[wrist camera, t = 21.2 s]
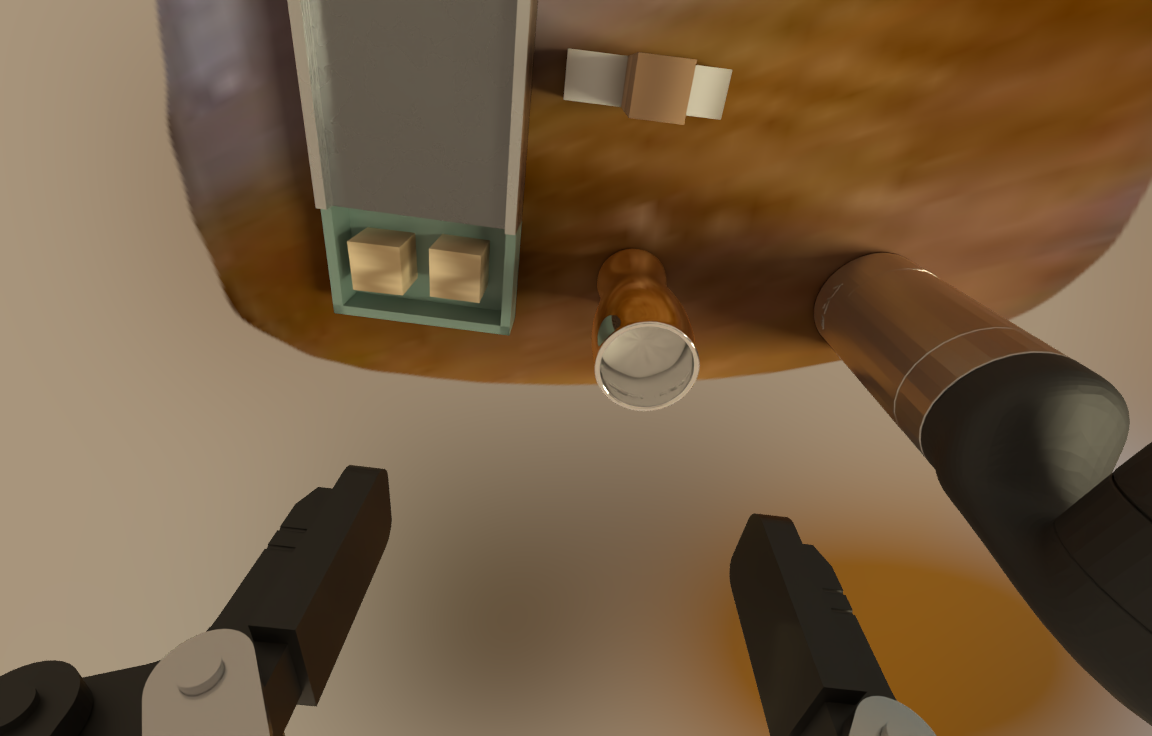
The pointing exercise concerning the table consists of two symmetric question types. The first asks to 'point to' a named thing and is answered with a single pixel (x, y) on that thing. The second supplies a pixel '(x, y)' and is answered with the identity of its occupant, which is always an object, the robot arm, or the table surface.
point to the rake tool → (647, 85)
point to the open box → (417, 105)
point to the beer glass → (641, 335)
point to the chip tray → (423, 273)
